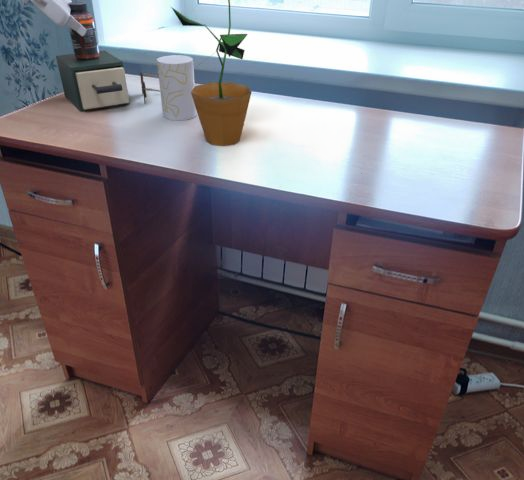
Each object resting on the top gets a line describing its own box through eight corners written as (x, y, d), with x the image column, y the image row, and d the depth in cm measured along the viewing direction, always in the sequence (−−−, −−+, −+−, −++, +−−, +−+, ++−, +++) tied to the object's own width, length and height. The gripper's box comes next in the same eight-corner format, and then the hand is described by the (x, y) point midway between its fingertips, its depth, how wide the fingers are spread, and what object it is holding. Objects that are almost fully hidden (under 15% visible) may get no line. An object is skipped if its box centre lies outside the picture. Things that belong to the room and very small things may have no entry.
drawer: (136, 108, 123) (131, 72, 118) (90, 115, 119) (83, 78, 114) (112, 90, 134) (107, 57, 129) (70, 96, 130) (62, 62, 125)
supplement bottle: (104, 56, 126) (95, 1, 118) (90, 61, 122) (80, 5, 114) (84, 54, 127) (74, -1, 120) (70, 58, 123) (58, 3, 116)
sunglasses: (141, 91, 137) (140, 70, 134) (195, 93, 140) (195, 73, 137) (145, 107, 127) (143, 85, 123) (203, 109, 130) (204, 88, 127)
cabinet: (129, 103, 129) (122, 61, 122) (80, 111, 124) (70, 67, 117) (111, 90, 137) (104, 50, 131) (65, 97, 132) (55, 55, 126)
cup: (156, 117, 121) (150, 61, 113) (173, 107, 127) (168, 53, 119) (186, 122, 119) (182, 65, 111) (202, 112, 124) (198, 57, 116)
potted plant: (214, 120, 120) (207, -38, 100) (280, 137, 112) (285, -31, 92) (162, 142, 109) (141, -31, 89) (230, 162, 101) (224, -22, 81)
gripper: (33, -27, 104) (93, 27, 112) (40, -37, 119) (92, 11, 127) (17, 0, 106) (77, 51, 115) (26, -13, 121) (78, 33, 129)
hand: (85, 30), depth 121 cm, fingers closed on supplement bottle, 6 cm apart
